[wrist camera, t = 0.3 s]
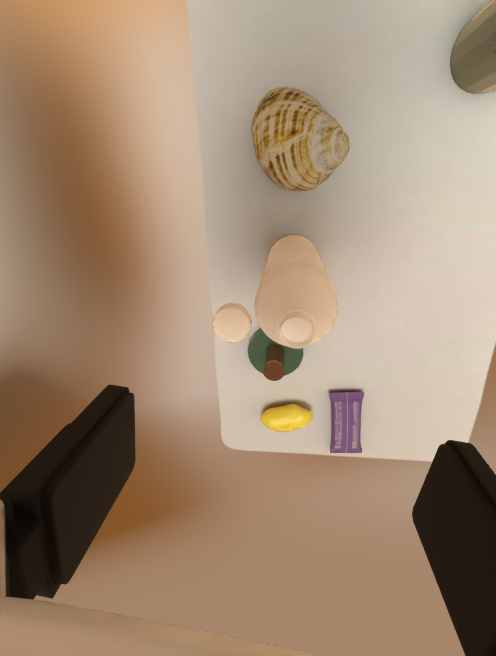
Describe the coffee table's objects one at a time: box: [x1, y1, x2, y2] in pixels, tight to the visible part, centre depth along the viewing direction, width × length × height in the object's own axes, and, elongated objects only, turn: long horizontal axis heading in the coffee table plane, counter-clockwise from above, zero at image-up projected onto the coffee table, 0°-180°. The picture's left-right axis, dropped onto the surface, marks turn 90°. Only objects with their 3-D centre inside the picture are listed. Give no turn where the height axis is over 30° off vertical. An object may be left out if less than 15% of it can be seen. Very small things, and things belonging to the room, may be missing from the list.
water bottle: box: [213, 235, 338, 349], centre depth 33 cm, size 9×6×25 cm
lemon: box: [261, 404, 313, 432], centre depth 51 cm, size 4×8×4 cm, turn 97°
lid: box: [248, 329, 303, 381], centre depth 46 cm, size 8×8×7 cm
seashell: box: [252, 87, 349, 191], centre depth 36 cm, size 10×10×10 cm
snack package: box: [330, 392, 364, 453], centre depth 52 cm, size 12×2×5 cm
